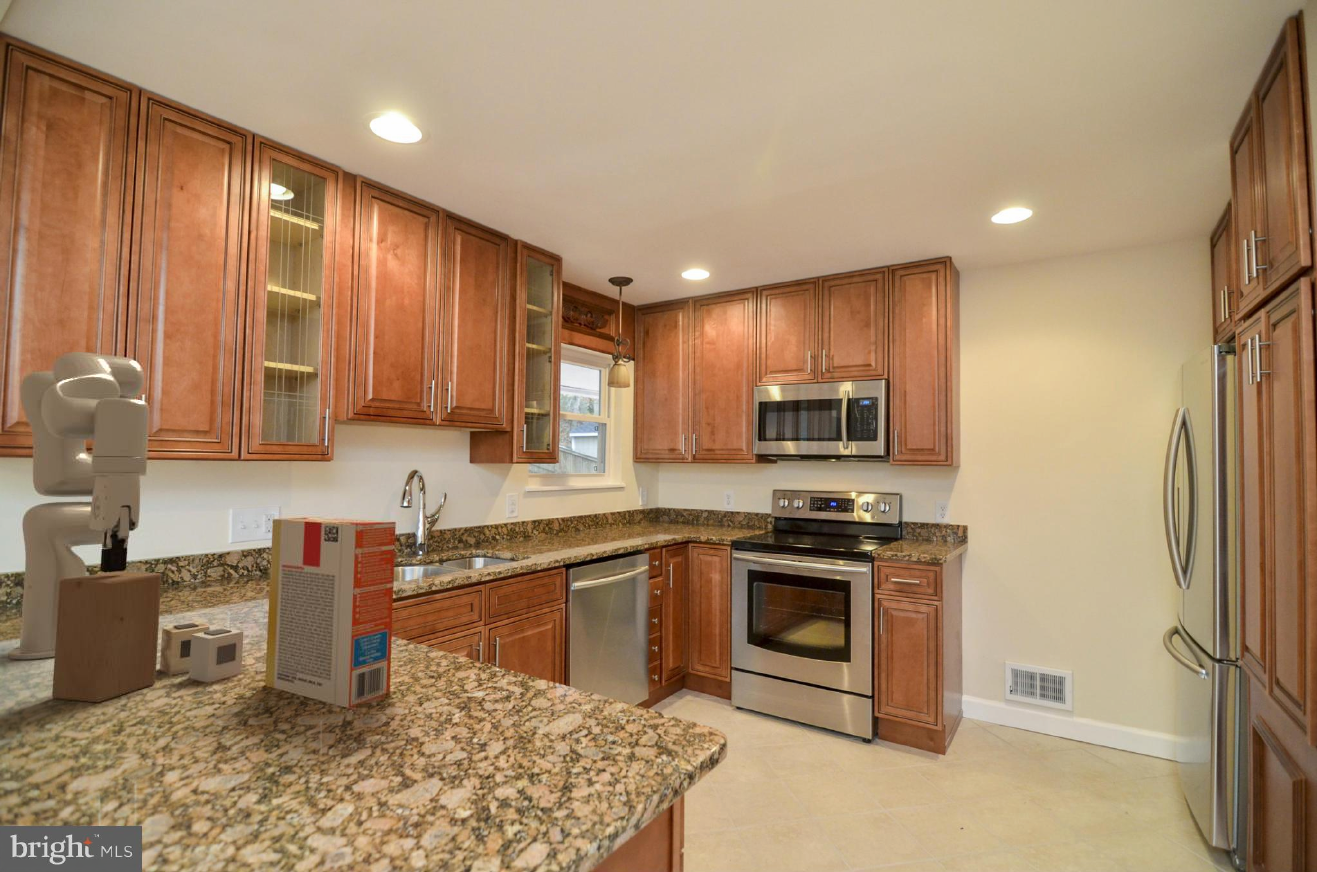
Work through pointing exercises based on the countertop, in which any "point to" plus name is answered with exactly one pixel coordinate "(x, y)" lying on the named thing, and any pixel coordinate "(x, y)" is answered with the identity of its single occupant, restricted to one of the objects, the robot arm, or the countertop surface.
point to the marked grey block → (216, 654)
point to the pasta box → (331, 608)
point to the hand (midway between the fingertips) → (113, 570)
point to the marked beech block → (178, 646)
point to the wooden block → (106, 635)
